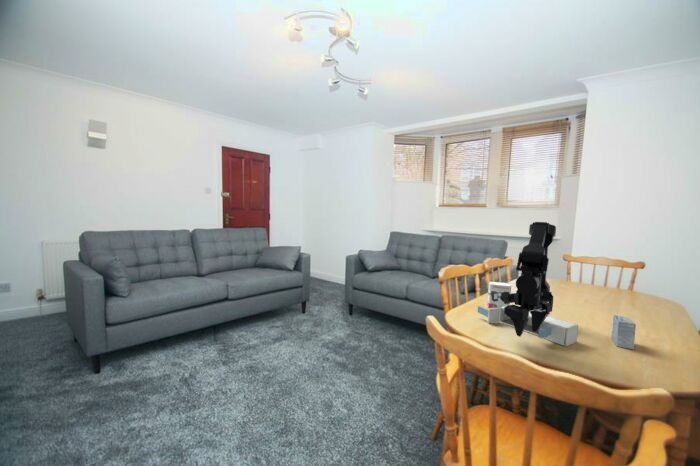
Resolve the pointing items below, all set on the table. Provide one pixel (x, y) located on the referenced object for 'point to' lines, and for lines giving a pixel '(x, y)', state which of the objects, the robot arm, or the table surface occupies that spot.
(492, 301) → the ink box
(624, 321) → the medicine box
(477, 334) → the table surface
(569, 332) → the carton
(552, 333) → the flap
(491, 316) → the flap
